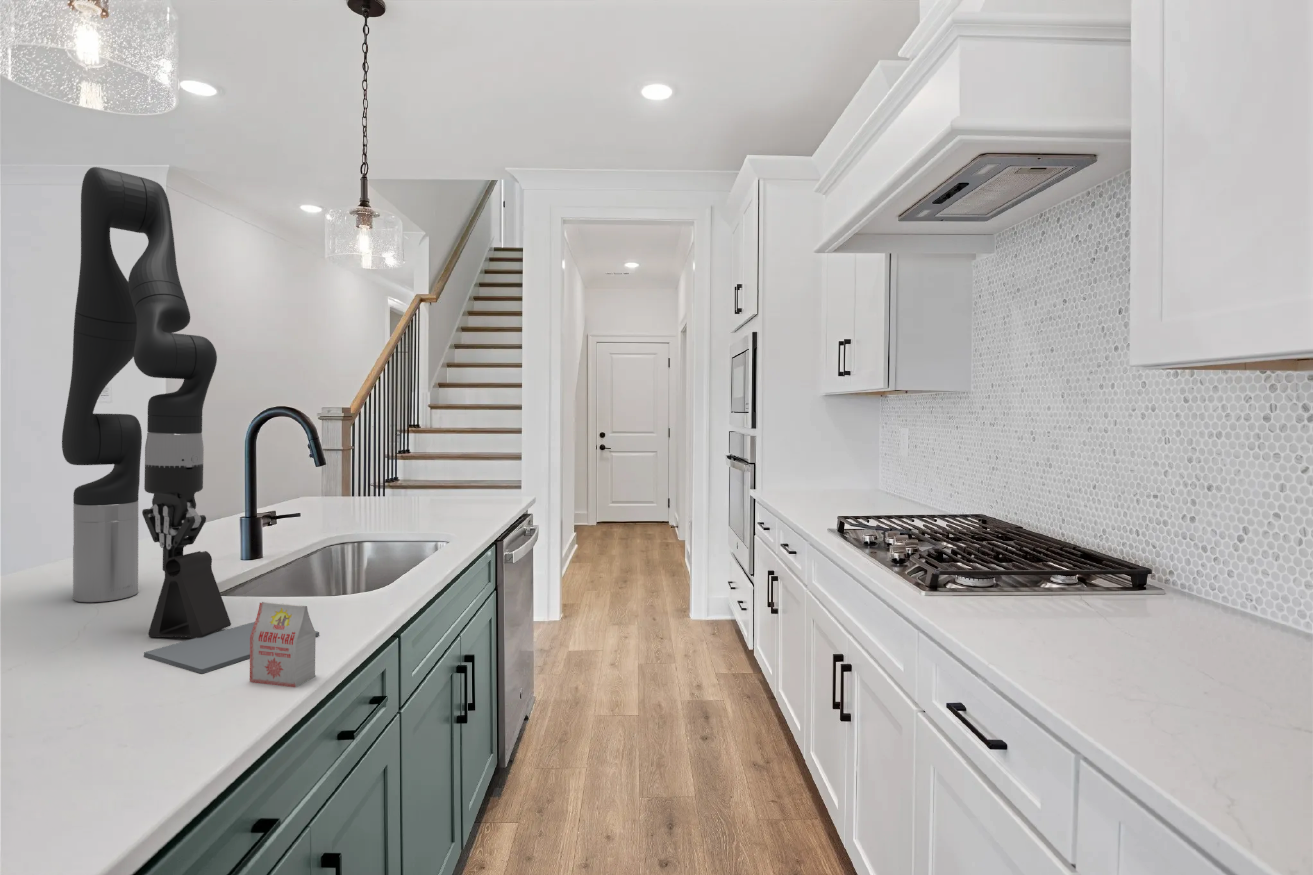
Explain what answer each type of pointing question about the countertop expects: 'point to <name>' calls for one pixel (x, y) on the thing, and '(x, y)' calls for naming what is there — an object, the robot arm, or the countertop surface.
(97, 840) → the countertop surface
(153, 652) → the mat
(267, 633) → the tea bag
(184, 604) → the phone stand
